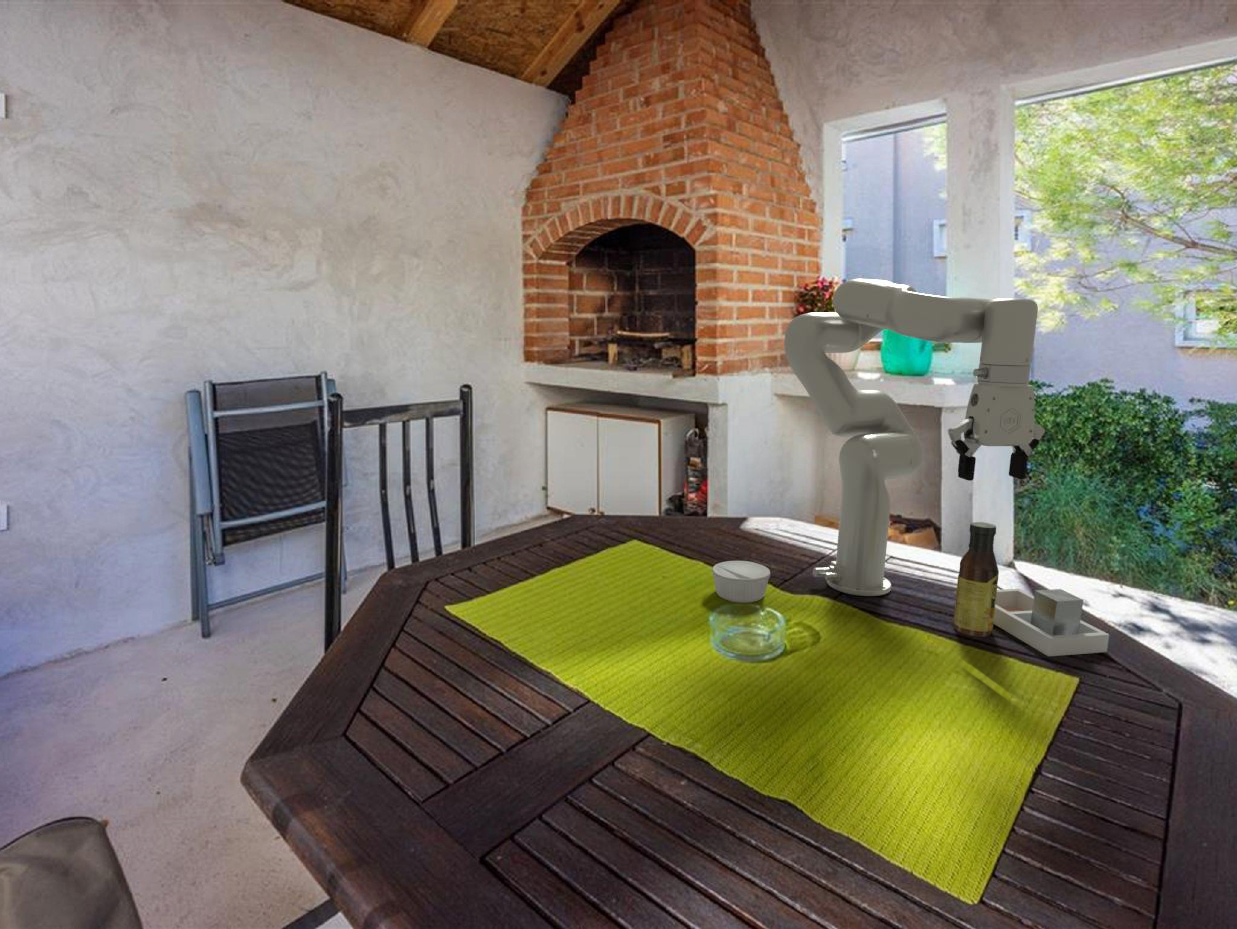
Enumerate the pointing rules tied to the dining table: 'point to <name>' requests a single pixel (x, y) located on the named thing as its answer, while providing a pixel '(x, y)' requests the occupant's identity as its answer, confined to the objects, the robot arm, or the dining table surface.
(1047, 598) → the grey metal block
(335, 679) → the dining table surface
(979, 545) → the sauce bottle
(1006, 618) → the divided bay tray
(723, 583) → the ramekin
